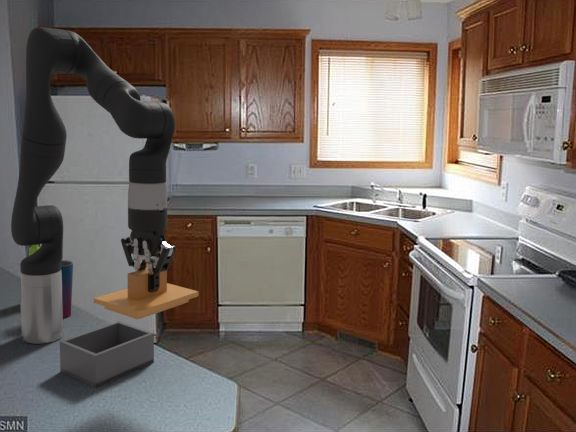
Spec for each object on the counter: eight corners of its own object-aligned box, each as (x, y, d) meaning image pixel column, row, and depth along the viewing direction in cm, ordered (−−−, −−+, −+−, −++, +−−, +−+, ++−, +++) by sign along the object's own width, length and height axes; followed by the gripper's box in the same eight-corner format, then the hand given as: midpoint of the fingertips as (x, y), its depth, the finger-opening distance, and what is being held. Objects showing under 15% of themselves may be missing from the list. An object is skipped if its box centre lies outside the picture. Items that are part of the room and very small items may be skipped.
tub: (60, 371, 123) (59, 341, 122) (119, 348, 136) (118, 321, 135) (95, 387, 116) (95, 355, 115) (153, 362, 130) (153, 333, 128)
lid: (93, 308, 110) (93, 273, 109) (156, 289, 124) (156, 258, 122) (137, 323, 103) (137, 285, 102) (198, 301, 117) (198, 268, 116)
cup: (65, 321, 152) (63, 267, 150) (42, 318, 154) (41, 265, 151) (79, 312, 159) (78, 261, 156) (57, 310, 160) (56, 259, 158)
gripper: (108, 202, 111) (109, 287, 114) (158, 211, 103) (158, 301, 106) (138, 199, 117) (138, 279, 120) (187, 207, 109) (186, 292, 112)
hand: (147, 289), depth 113 cm, fingers closed on lid, 2 cm apart
